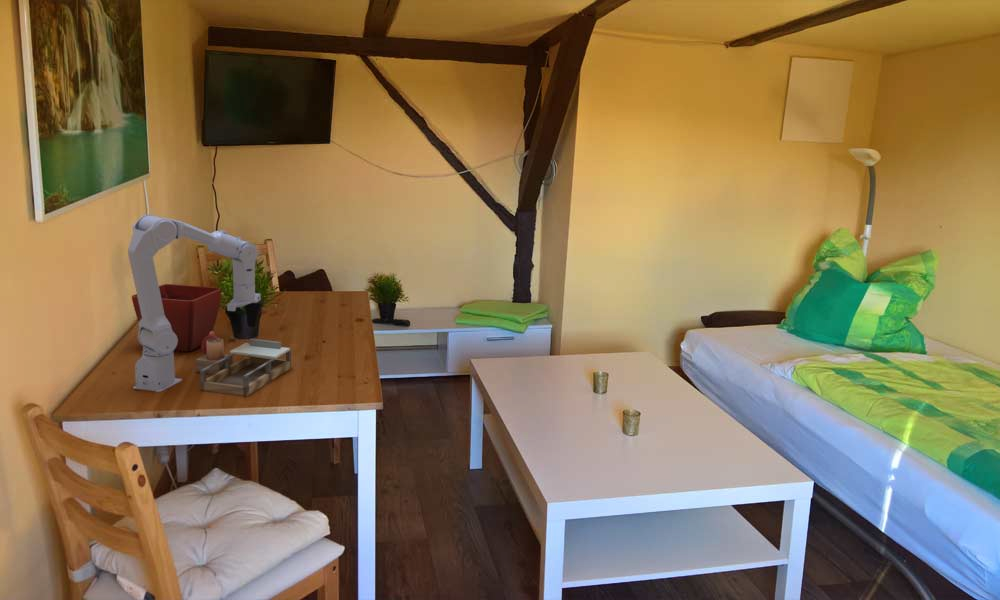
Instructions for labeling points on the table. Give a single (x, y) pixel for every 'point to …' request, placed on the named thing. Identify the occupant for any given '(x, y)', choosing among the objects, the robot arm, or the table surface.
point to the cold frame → (244, 374)
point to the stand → (205, 362)
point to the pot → (215, 349)
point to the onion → (203, 345)
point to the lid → (261, 349)
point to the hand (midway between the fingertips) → (245, 329)
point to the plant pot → (188, 312)
